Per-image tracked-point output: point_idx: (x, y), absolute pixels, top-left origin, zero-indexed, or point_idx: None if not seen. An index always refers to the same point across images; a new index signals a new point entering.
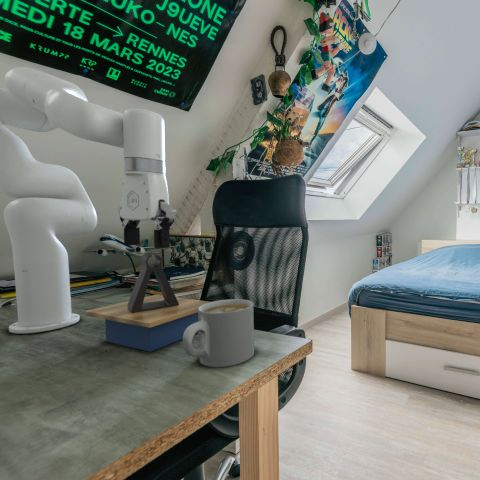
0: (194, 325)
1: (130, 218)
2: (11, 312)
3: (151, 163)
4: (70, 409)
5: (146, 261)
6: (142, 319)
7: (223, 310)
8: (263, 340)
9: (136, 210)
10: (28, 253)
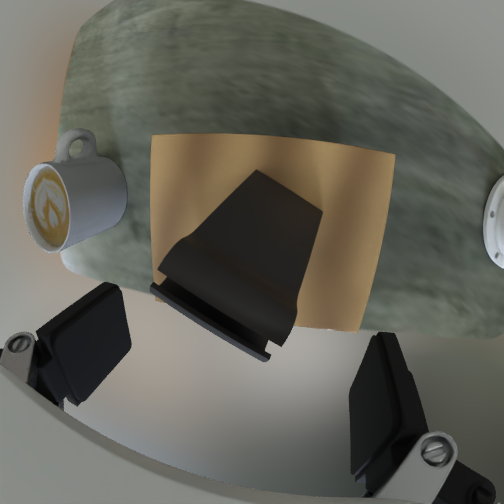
0: (58, 143)
1: (188, 486)
2: None
3: None
4: (158, 26)
5: (179, 241)
6: (184, 143)
7: (54, 207)
8: (97, 255)
9: (6, 495)
10: None
